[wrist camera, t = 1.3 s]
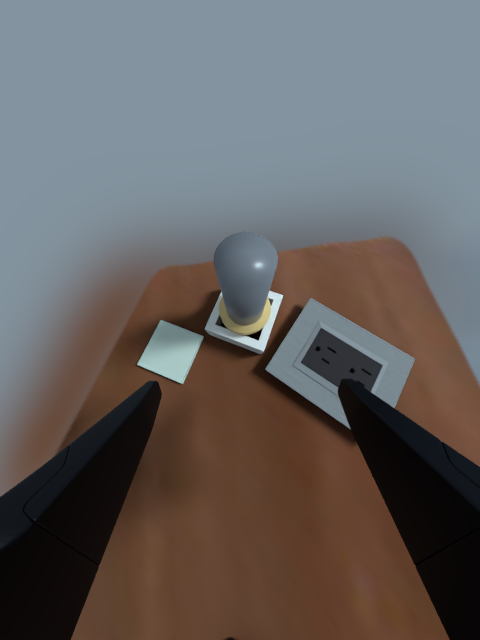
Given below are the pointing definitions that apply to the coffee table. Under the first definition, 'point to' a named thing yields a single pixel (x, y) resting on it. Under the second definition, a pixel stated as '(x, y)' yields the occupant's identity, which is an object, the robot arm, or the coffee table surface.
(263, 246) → the grey tapered rounded cylinder
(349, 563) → the coffee table surface
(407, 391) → the coffee table surface
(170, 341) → the rubber pad
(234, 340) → the frame
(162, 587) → the coffee table surface
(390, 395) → the electrical outlet
